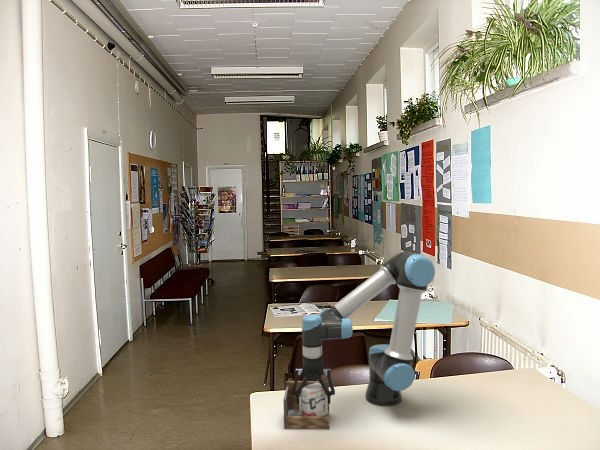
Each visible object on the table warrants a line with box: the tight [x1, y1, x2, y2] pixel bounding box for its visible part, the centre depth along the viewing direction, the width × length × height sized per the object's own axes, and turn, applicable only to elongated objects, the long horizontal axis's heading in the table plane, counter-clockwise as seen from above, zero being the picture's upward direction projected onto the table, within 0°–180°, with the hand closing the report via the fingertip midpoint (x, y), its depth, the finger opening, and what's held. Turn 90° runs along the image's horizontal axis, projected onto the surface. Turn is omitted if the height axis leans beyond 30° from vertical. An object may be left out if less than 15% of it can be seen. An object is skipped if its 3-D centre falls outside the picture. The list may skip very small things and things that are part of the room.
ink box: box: [301, 382, 326, 417], centre depth 197 cm, size 8×5×12 cm, turn 123°
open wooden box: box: [283, 380, 330, 430], centre depth 198 cm, size 17×13×14 cm
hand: (313, 411), depth 198 cm, fingers closed on ink box, 9 cm apart
